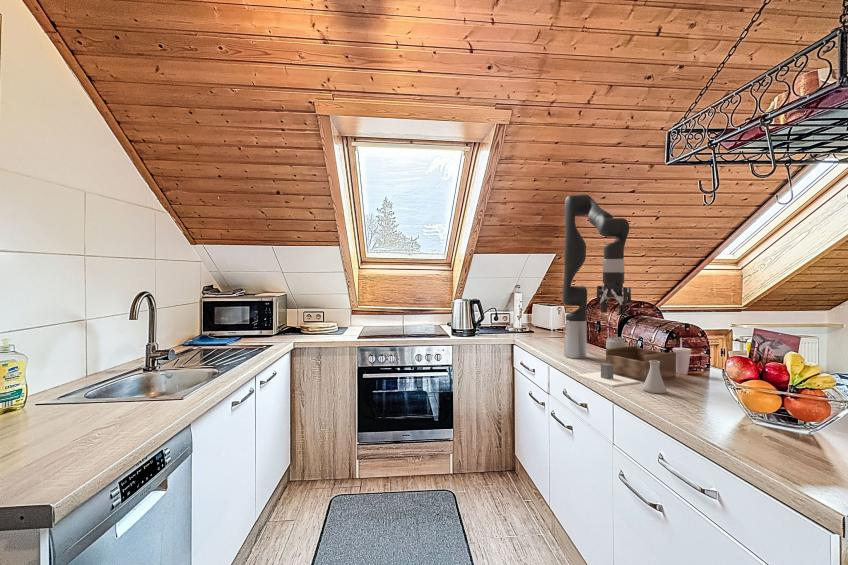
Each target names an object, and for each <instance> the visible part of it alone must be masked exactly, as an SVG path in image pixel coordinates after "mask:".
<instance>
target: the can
mask: <svg viewBox="0 0 848 565" xmlns="http://www.w3.org/2000/svg"><path fill="white" fill-rule="evenodd" d="M625 346H626V341H625V340H624V337H622V336H607V340H606V341H605V349H606V348H615V347H625Z"/></svg>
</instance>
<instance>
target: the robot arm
mask: <svg viewBox="0 0 848 565" xmlns="http://www.w3.org/2000/svg"><path fill="white" fill-rule="evenodd" d="M581 216H582V217H583V216H588V217H587V218H588V221H589V222H590V224H591V225H593V226H594V227H595V228H596V230H597V231H598V234H599V235H601V236H602V237H605V238H614V237H615V238H614V241H613V242H610V243H605V244H604V246H603V262H602V283H603V285H597V286H596V299H595V300H596V301H597V302H599V303H600V312H601V313H603V314H605V313H607V312H608V301H609V299H611V298H612V299H615V300H616V301H617V302H618V303H619V305H618V308H619V310H618V314H619V315H620V316H625V315H626V314H627V313H626V312H627V311H626V310H627V305H629V304H631V303H632V289H631V287H630V286H625V287H624V283H625V259H624V258H625V246H626V242H627V238H628V236H629V232H630V223H629V220H627V219H626V218H624V217H613V215H612V214H611V213H609V212H608V211H606V210H605V209H603V208H602V207H600V206H599V204H598V203H597V202H596V201H595V199H594V198H592V197H591V196H590V195H589V194H573V195H572V194H571V195H567V197H566V198H565V201H564V223H565V225H564V226H565V232H564V233H565V234H564V237H565V238H564V240H565V241H564V255H563V256H564V257H563V258H564V261H563V262H564V273H563V274H564V275H563V284H562V285H563V286H562V303H563V305H564V306H566V307H567V306H570V307H578V308H577V309H575V310H574V311H572V312H568V313H567V314H566V315H565V335H564V336H563V338H564V344H563V347H564V349H563V354H564V356H565V357H567V358H571V359H587V349H588V348H587V342H588V341H587V338H588V337H587V331H588V330H587V329H588V328H587V317H588V316H587V315H588V314H587V310H588V306H587V305H588V289H587V287H585V286H583V285H582V286H580V285H579V286H577V285H576V286H575V285H574V286H572V282H573V279H574V278H575V276H576V274H577V273H578V271H579V270H580V269H581V267H582V266H583V264H584V263H585V261H586V259H587V258H586V256H587V245H586V242H585V240H584V238H583V236H582V235H581V234H580V231H579V230H578V227H577V225H576V217H581Z"/></svg>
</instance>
